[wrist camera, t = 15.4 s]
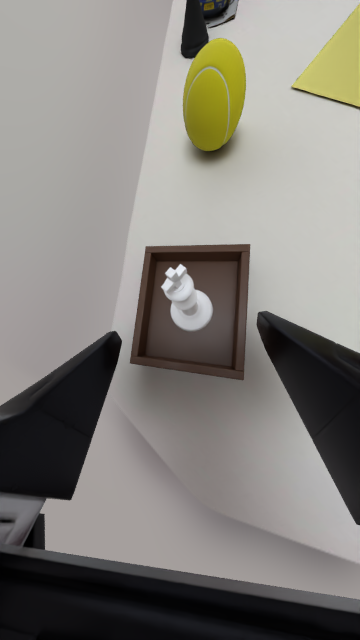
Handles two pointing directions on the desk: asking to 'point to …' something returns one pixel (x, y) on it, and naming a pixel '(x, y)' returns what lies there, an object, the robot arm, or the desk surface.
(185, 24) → the chess piece
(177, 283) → the chess piece
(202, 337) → the dark tray
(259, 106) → the desk surface
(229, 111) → the tennis ball
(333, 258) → the desk surface
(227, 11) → the race car
